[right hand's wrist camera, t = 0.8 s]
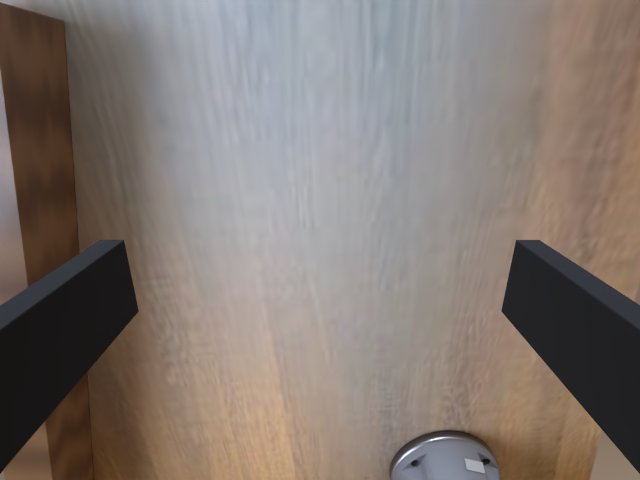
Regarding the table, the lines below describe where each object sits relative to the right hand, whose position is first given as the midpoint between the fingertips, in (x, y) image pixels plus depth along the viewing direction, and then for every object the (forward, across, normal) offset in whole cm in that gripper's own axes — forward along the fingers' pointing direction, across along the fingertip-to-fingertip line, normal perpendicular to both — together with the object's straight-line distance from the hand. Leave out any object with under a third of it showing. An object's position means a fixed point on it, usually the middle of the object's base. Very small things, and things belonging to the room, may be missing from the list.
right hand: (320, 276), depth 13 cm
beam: (+27, +31, +18) cm, 45 cm away
